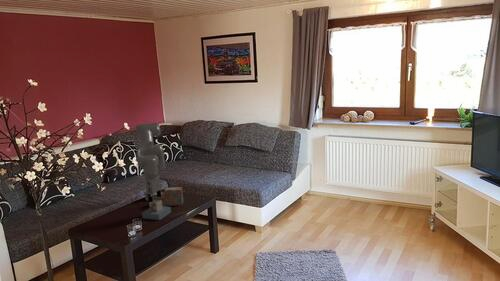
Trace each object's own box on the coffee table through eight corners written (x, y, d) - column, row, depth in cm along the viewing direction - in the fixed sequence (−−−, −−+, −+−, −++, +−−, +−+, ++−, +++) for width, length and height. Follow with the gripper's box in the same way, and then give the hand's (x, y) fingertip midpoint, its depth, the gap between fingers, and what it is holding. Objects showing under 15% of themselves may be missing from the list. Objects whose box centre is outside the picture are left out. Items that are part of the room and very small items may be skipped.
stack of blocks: (153, 207, 281) (151, 191, 278) (155, 204, 287) (153, 188, 285) (182, 205, 280) (180, 189, 278) (183, 202, 287) (182, 186, 284)
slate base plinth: (142, 218, 260) (141, 212, 259) (154, 210, 272) (154, 205, 272) (159, 220, 254) (158, 214, 254) (171, 212, 267) (170, 207, 266)
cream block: (150, 211, 261) (149, 202, 260) (155, 207, 267) (154, 199, 265) (157, 211, 259) (156, 203, 258) (162, 208, 264) (161, 200, 263)
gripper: (149, 180, 249) (151, 204, 253) (164, 172, 264) (166, 195, 268) (139, 179, 252) (142, 203, 255) (155, 171, 267) (157, 194, 271)
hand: (155, 199), depth 262 cm, fingers open, 9 cm apart
